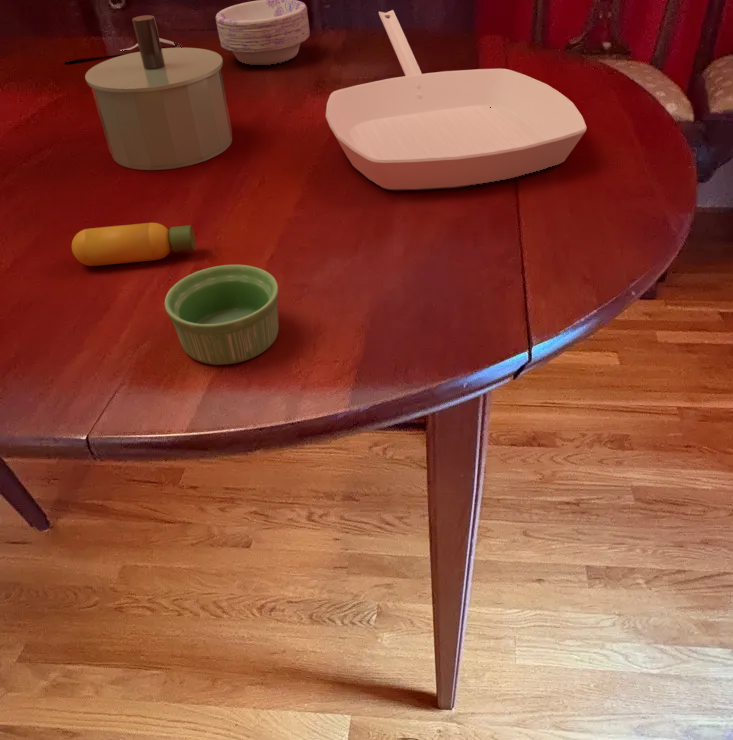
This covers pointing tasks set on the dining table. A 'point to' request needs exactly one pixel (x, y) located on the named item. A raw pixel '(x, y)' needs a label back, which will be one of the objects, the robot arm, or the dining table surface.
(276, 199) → the dining table surface
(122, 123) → the pot
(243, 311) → the ramekin
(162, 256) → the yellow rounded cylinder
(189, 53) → the lid
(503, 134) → the pan
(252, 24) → the paper bowls
